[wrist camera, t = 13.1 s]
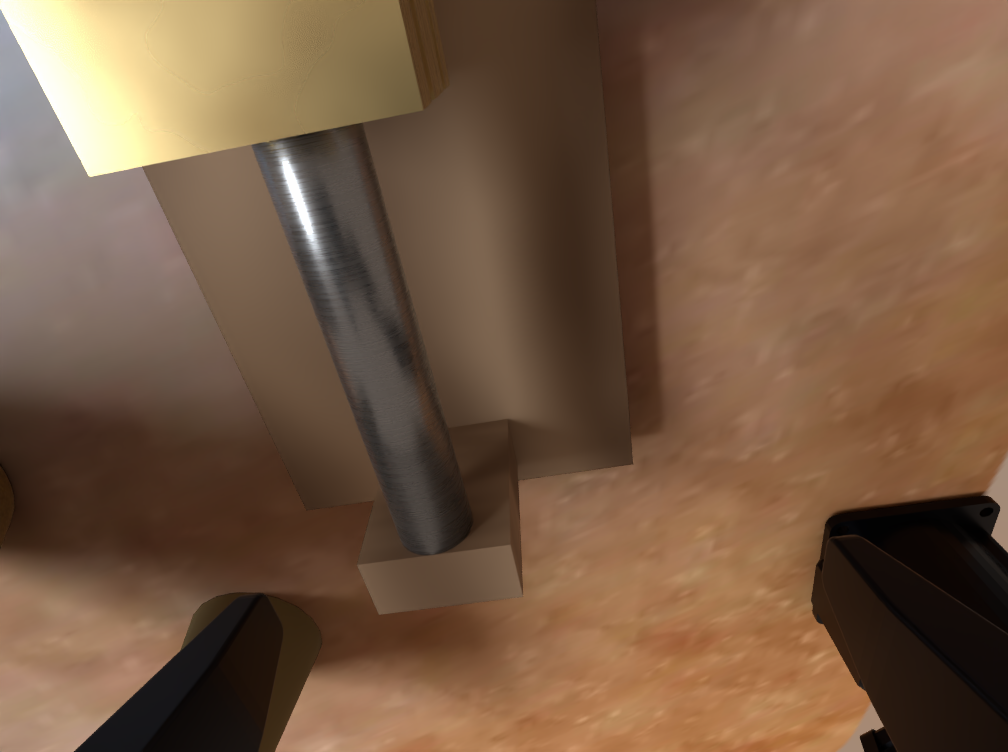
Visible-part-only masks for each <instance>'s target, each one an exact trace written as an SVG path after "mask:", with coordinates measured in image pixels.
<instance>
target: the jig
mask: <svg viewBox="0 0 1008 752" xmlns="http://www.w3.org/2000/svg"><path fill="white" fill-rule="evenodd" d="M433 2H434V7H435V12H436V17H437V22H438V27H439V32H440V37H441V42H442V47H443V52H444V57H445V62H446V67H447V72H448V77H449V82H450V85H449V86H448V87H447V88H446V89H443V90H444V91H443V92H442V93H441V94H440V95H439V96H438V97H437V98H436V99H434V100H431V102H432V103H431V104H430V105H429V106H428V107H427V108H426V109H424V110H423V111H418V112H413V113H408V114H403V115H398V116H393V117H388V118H383V119H378V120H373V121H368V122H363V127H364V130H365V134H366V138H367V141H368V145H369V148H370V152H371V155H372V159H373V163H374V166H375V170H376V173H377V177H378V180H379V184H380V187H381V191H382V195H383V198H384V202H385V205H386V209H387V212H388V216H389V220H390V223H391V227H392V230H393V234H394V237H395V241H396V245H397V248H398V252H399V255H400V259H401V262H402V266H403V270H404V273H405V277H406V280H407V284H408V287H409V291H410V295H411V298H412V302H413V305H414V309H415V312H416V316H417V319H418V323H419V327H420V330H421V334H422V337H423V341H424V344H425V348H426V352H427V355H428V359H429V362H430V366H431V369H432V373H433V377H434V380H435V384H436V387H437V391H438V394H439V398H440V402H441V405H442V409H443V412H444V416H445V419H446V423H447V426H448V430H449V434H450V437H451V441H452V444H453V448H454V451H455V455H456V459H457V462H458V466H459V469H460V473H461V476H462V480H463V484H464V487H465V491H466V494H467V498H468V501H469V505H470V509H471V512H472V516H473V524H472V528H471V530H470V532H469V534H468V535H467V537H466V538H465V539H464V540H463V541H462V542H461V543H460V544H458V545H457V546H455V547H454V548H452V549H450V550H448V551H446V552H443V553H440V554H436V555H418V554H414V553H412V552H410V551H408V550H407V549H406V548H405V547H404V546H403V544H402V542H401V540H400V537H399V535H398V532H397V529H396V527H395V524H394V521H393V519H392V516H391V514H390V511H389V508H388V506H387V503H386V500H385V498H384V495H383V492H382V490H381V487H380V485H379V482H378V479H377V477H376V474H375V471H374V469H373V466H372V463H371V461H370V458H369V455H368V453H367V450H366V448H365V445H364V442H363V440H362V437H361V434H360V432H359V429H358V426H357V424H356V421H355V419H354V416H353V413H352V411H351V408H350V405H349V403H348V400H347V397H346V395H345V392H344V389H343V387H342V384H341V382H340V379H339V376H338V374H337V371H336V368H335V366H334V363H333V360H332V358H331V355H330V352H329V350H328V347H327V345H326V342H325V339H324V337H323V334H322V331H321V329H320V326H319V323H318V321H317V318H316V316H315V313H314V310H313V308H312V305H311V302H310V300H309V297H308V294H307V292H306V289H305V286H304V284H303V281H302V279H301V276H300V273H299V271H298V268H297V265H296V263H295V260H294V257H293V255H292V252H291V249H290V247H289V244H288V242H287V239H286V236H285V234H284V231H283V228H282V226H281V223H280V220H279V218H278V215H277V213H276V210H275V207H274V205H273V202H272V199H271V197H270V194H269V191H268V189H267V186H266V183H265V181H264V178H263V176H262V173H261V170H260V168H259V165H258V162H257V160H256V157H255V154H254V152H253V149H252V147H251V145H247V146H242V147H237V148H232V149H227V150H222V151H217V152H212V153H207V154H201V155H196V156H191V157H186V158H181V159H176V160H171V161H166V162H161V163H156V164H151V165H146V166H142V167H143V170H144V172H145V174H146V176H147V178H148V180H149V182H150V184H151V186H152V188H153V190H154V193H155V195H156V197H157V199H158V201H159V203H160V205H161V207H162V209H163V211H164V213H165V216H166V218H167V220H168V222H169V224H170V226H171V228H172V230H173V232H174V234H175V236H176V239H177V241H178V243H179V245H180V247H181V249H182V251H183V253H184V255H185V257H186V259H187V262H188V264H189V266H190V268H191V270H192V272H193V274H194V276H195V278H196V280H197V282H198V285H199V287H200V289H201V291H202V293H203V295H204V297H205V299H206V301H207V303H208V305H209V308H210V310H211V312H212V314H213V316H214V318H215V320H216V322H217V324H218V326H219V328H220V331H221V333H222V335H223V337H224V339H225V341H226V343H227V345H228V347H229V349H230V351H231V354H232V356H233V358H234V360H235V362H236V364H237V366H238V368H239V370H240V372H241V374H242V377H243V379H244V381H245V383H246V385H247V387H248V389H249V391H250V393H251V395H252V397H253V400H254V402H255V404H256V406H257V408H258V410H259V412H260V414H261V416H262V418H263V420H264V423H265V425H266V427H267V429H268V431H269V433H270V435H271V437H272V439H273V441H274V443H275V446H276V448H277V450H278V452H279V454H280V456H281V458H282V460H283V462H284V464H285V466H286V469H287V471H288V473H289V475H290V477H291V479H292V481H293V483H294V485H295V487H296V489H297V492H298V494H299V496H300V498H301V500H302V502H303V504H304V506H305V508H306V510H313V509H320V508H327V507H334V506H341V505H348V504H355V503H362V502H369V501H374V503H373V507H372V510H371V514H370V518H369V522H368V525H367V529H366V533H365V536H364V540H363V544H362V548H361V551H360V555H359V559H358V562H357V567H358V569H359V571H360V573H361V576H362V578H363V580H364V582H365V585H366V587H367V589H368V591H369V594H370V596H371V598H372V600H373V602H374V605H375V607H376V609H377V611H378V614H379V615H381V614H389V613H397V612H405V611H413V610H422V609H430V608H438V607H446V606H454V605H462V604H470V603H478V602H486V601H494V600H502V599H510V598H518V597H523V581H522V558H521V535H520V512H519V488H518V480H525V479H532V478H539V477H546V476H553V475H560V474H567V473H574V472H582V471H589V470H596V469H603V468H610V467H617V466H624V465H631V464H633V457H632V444H631V432H630V420H629V407H628V395H627V383H626V370H625V358H624V345H623V333H622V321H621V308H620V296H619V284H618V271H617V259H616V246H615V234H614V222H613V209H612V197H611V185H610V172H609V160H608V147H607V135H606V123H605V110H604V98H603V86H602V73H601V61H600V48H599V36H598V24H597V11H596V0H433Z"/></svg>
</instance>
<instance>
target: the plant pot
mask: <svg viewBox="0 0 1008 752" xmlns="http://www.w3.org/2000/svg"><path fill="white" fill-rule="evenodd" d="M13 512H14V494H13V491H12V487H11V485H10V482H9V480H8V477H7V476H6V474H5V472H4V471H3V469H2V468H1V466H0V548H1V545H2V543H3V540H4V538H5V535H6V532H7V530H8V527H9V524H10V522H11V519H12V516H13Z"/></svg>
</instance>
